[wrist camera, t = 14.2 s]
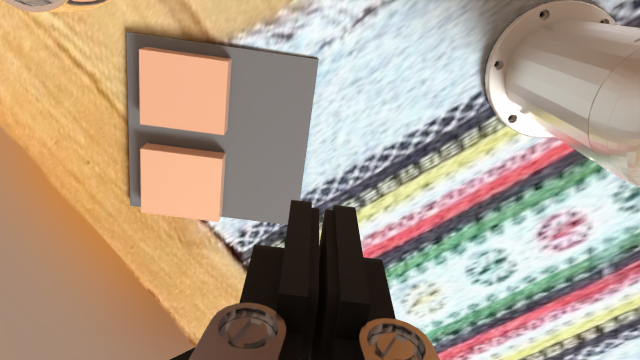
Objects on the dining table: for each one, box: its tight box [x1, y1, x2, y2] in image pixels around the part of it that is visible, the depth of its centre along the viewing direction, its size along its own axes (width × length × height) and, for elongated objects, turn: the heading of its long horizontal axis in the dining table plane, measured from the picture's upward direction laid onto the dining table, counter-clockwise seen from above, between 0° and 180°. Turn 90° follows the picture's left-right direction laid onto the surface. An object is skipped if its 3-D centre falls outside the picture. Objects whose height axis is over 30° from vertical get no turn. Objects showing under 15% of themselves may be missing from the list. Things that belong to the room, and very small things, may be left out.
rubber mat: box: [126, 32, 319, 225], centre depth 47 cm, size 18×18×1 cm
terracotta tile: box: [139, 47, 232, 135], centre depth 44 cm, size 2×7×8 cm
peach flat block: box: [140, 143, 226, 222], centre depth 48 cm, size 2×7×8 cm
